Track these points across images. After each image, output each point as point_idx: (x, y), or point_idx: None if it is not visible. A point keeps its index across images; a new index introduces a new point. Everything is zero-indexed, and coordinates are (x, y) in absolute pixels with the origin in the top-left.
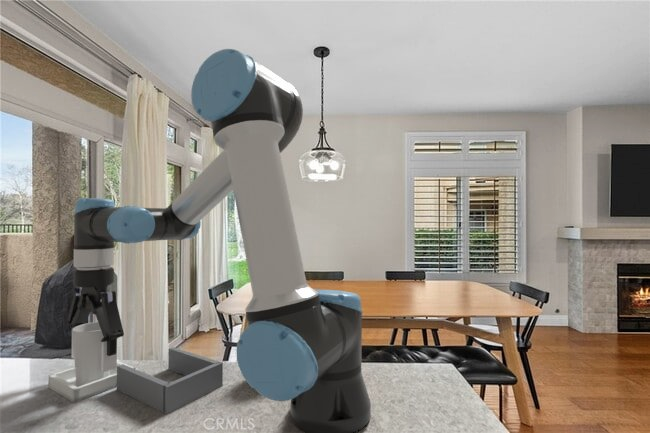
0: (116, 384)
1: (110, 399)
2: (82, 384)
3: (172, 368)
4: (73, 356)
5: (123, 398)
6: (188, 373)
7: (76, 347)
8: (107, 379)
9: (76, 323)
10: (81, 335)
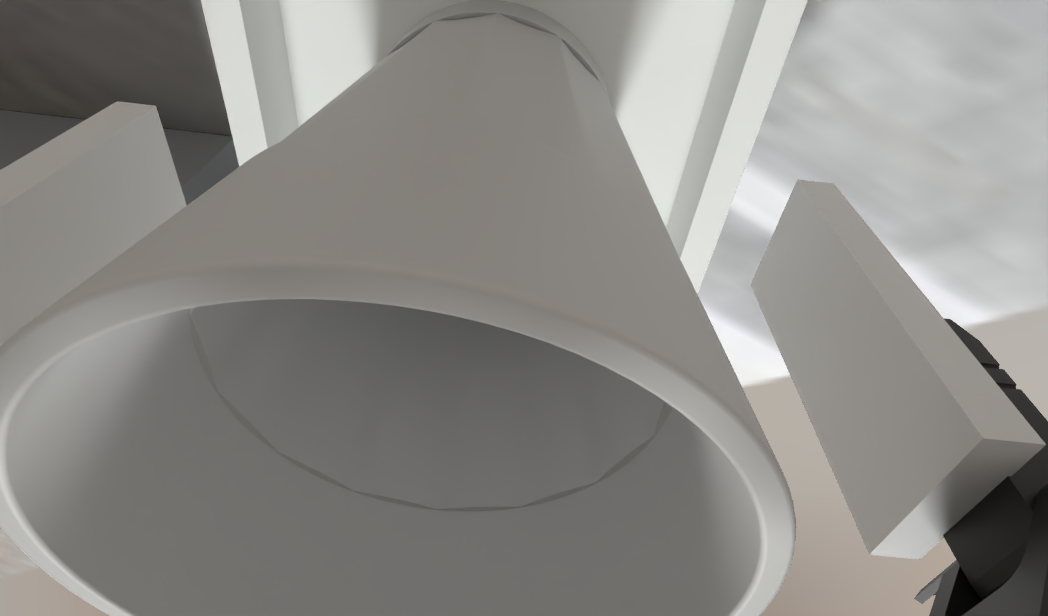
0: None
1: (86, 14)
2: (435, 17)
3: None
4: (802, 194)
5: (40, 71)
6: None
7: (403, 115)
8: (235, 130)
9: (1021, 585)
10: (121, 255)
